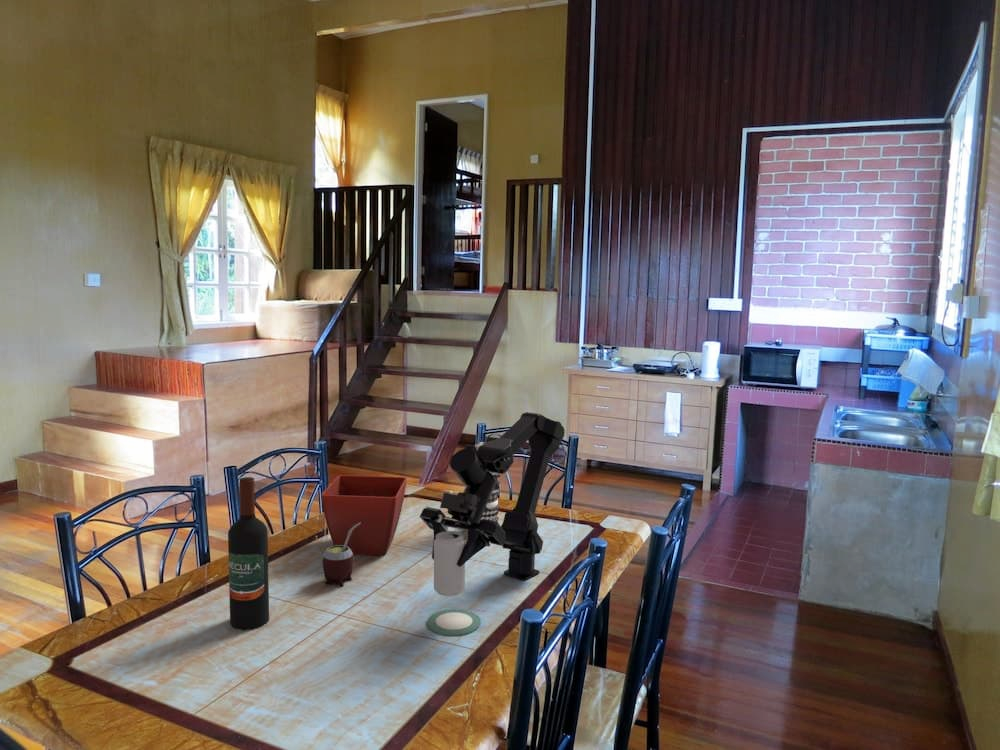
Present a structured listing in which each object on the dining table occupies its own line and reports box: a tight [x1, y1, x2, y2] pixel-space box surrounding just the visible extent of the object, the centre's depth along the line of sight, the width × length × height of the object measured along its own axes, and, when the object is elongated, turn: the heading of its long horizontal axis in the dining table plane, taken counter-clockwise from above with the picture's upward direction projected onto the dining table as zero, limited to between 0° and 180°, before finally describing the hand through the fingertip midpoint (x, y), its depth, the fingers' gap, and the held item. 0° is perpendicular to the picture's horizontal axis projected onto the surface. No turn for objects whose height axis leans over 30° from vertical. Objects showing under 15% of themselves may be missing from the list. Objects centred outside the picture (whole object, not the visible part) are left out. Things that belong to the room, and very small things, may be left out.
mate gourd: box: [322, 522, 361, 588], centre depth 167 cm, size 8×8×15 cm
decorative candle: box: [474, 441, 501, 523], centre depth 205 cm, size 9×9×25 cm
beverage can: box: [433, 530, 466, 597], centre depth 147 cm, size 6×6×12 cm
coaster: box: [426, 608, 482, 637], centre depth 148 cm, size 11×11×1 cm
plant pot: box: [320, 474, 407, 556], centre depth 189 cm, size 19×19×17 cm
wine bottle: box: [227, 476, 270, 631], centre depth 145 cm, size 8×8×30 cm
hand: (445, 562), depth 146 cm, fingers closed on beverage can, 6 cm apart
